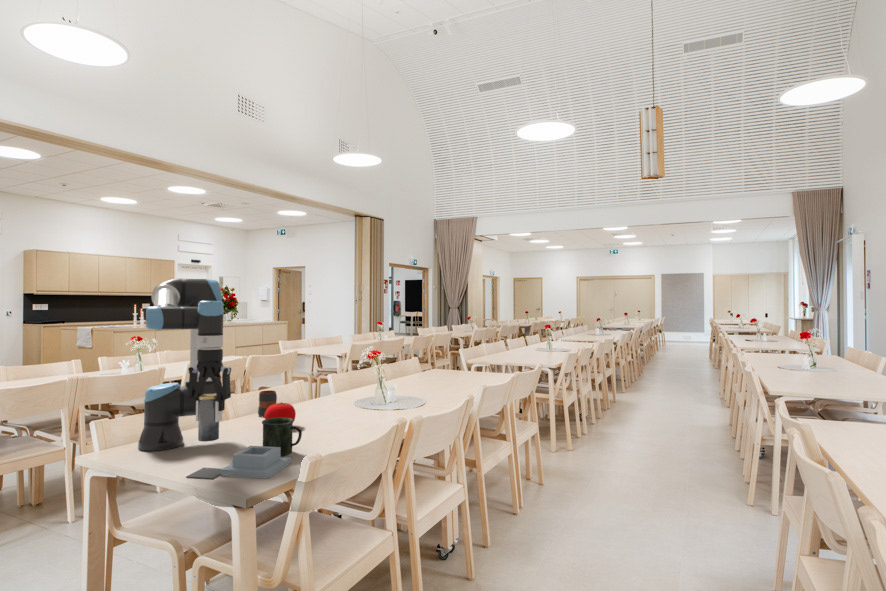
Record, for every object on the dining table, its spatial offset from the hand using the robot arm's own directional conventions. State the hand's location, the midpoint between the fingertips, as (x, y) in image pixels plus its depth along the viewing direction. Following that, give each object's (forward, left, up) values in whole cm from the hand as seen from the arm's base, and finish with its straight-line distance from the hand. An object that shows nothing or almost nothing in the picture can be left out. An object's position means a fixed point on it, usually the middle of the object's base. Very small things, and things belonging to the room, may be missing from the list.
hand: (209, 420), depth 164 cm
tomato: (-6, +63, -17) cm, 66 cm away
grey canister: (0, 0, -6) cm, 6 cm away
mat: (0, 0, -17) cm, 17 cm away
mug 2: (-23, +86, -17) cm, 91 cm away
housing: (+13, +7, -17) cm, 23 cm away
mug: (+13, +25, -17) cm, 33 cm away
